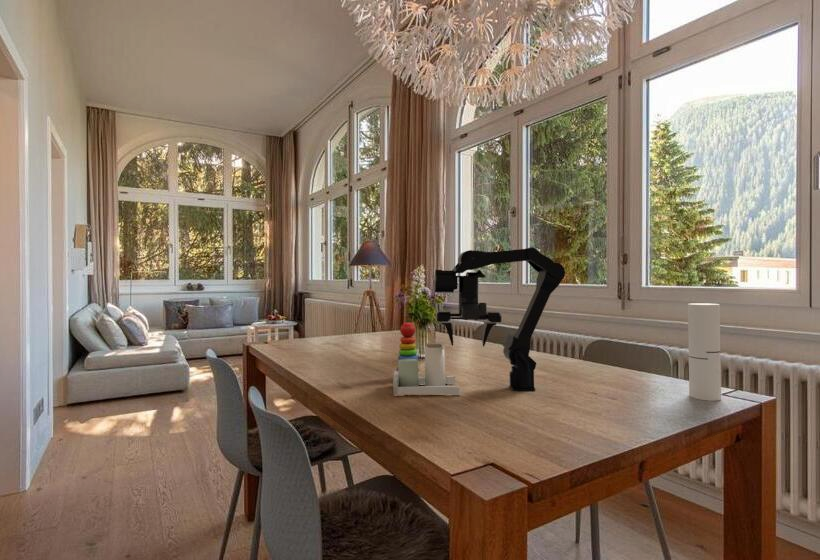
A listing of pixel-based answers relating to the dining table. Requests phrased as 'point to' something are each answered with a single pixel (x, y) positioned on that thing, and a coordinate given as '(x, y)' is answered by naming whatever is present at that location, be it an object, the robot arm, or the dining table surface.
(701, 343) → the cylindrical container
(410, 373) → the grey-green cylinder
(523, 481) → the dining table surface
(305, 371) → the dining table surface
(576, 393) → the dining table surface
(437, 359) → the cream jar
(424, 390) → the white u-shaped frame
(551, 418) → the dining table surface
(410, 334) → the stacking toy
